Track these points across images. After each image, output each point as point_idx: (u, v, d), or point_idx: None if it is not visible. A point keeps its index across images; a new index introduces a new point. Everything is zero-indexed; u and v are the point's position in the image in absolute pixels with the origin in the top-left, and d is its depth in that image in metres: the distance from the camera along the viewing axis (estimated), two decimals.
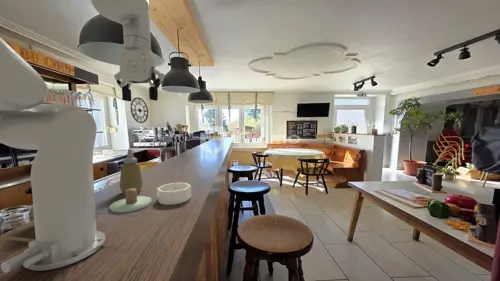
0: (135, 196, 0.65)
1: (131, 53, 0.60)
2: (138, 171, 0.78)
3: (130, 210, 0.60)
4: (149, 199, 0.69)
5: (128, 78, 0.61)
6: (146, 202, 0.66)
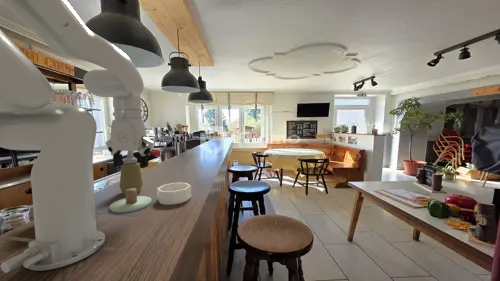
0: (135, 196, 0.65)
1: (122, 125, 0.62)
2: (138, 171, 0.78)
3: (130, 210, 0.60)
4: (149, 199, 0.69)
5: (119, 148, 0.62)
6: (146, 202, 0.66)
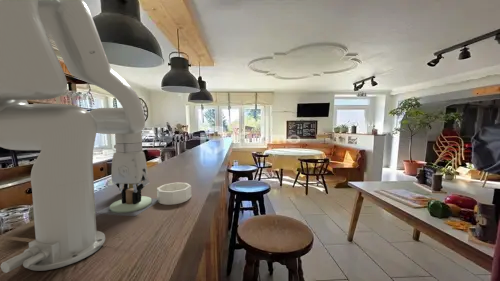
0: None
1: (123, 158, 0.62)
2: None
3: (130, 210, 0.61)
4: (149, 199, 0.69)
5: (119, 181, 0.63)
6: (146, 202, 0.66)
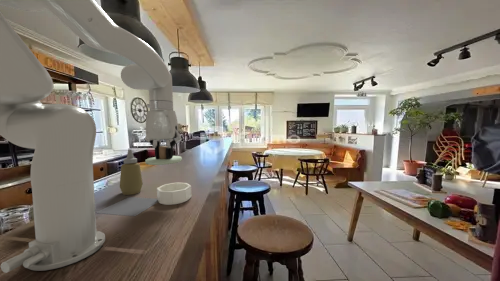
0: None
1: (157, 115, 0.66)
2: (138, 171, 0.78)
3: (166, 162, 0.65)
4: (179, 156, 0.73)
5: (154, 137, 0.67)
6: (178, 158, 0.70)
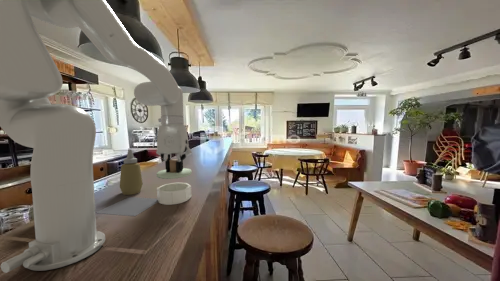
0: None
1: (168, 130, 0.68)
2: (138, 171, 0.78)
3: (176, 176, 0.66)
4: (189, 169, 0.75)
5: (165, 151, 0.69)
6: (188, 171, 0.72)
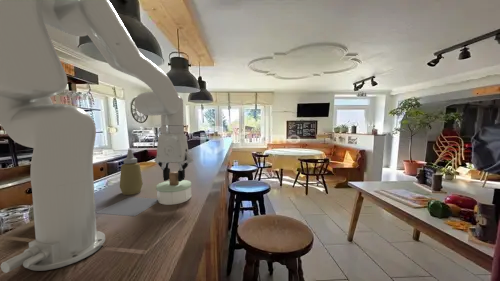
0: None
1: (168, 139, 0.68)
2: (138, 171, 0.78)
3: (176, 189, 0.66)
4: (189, 181, 0.75)
5: (165, 160, 0.69)
6: (187, 184, 0.72)
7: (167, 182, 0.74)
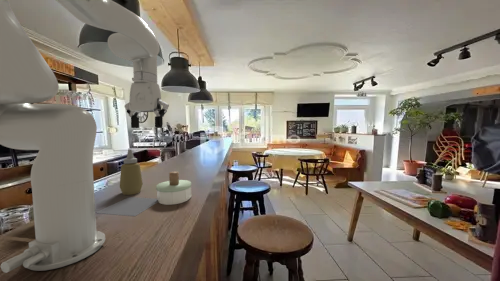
0: (178, 178, 0.71)
1: (140, 87, 0.67)
2: (138, 171, 0.78)
3: (176, 189, 0.66)
4: (189, 181, 0.75)
5: (136, 109, 0.68)
6: (187, 184, 0.72)
7: (167, 182, 0.74)
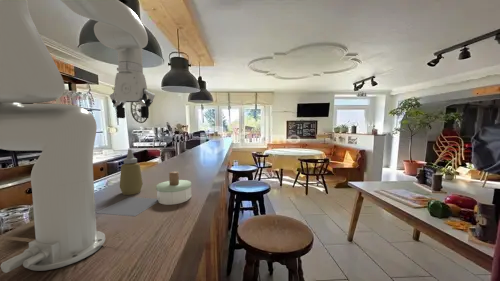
0: (178, 178, 0.71)
1: (125, 76, 0.68)
2: (138, 171, 0.78)
3: (176, 189, 0.66)
4: (189, 181, 0.75)
5: (122, 99, 0.68)
6: (187, 184, 0.72)
7: (167, 182, 0.74)
